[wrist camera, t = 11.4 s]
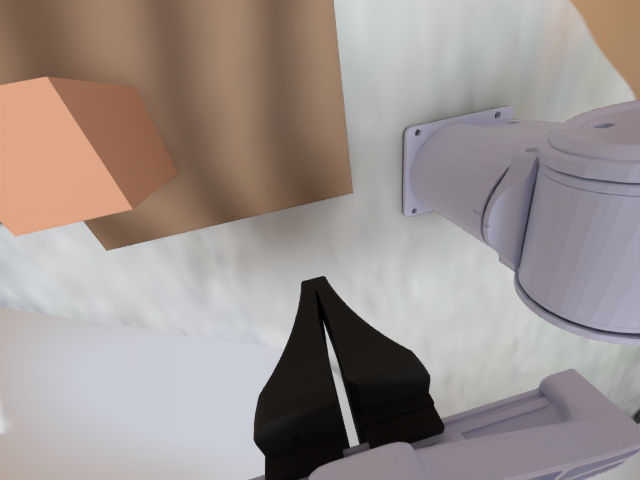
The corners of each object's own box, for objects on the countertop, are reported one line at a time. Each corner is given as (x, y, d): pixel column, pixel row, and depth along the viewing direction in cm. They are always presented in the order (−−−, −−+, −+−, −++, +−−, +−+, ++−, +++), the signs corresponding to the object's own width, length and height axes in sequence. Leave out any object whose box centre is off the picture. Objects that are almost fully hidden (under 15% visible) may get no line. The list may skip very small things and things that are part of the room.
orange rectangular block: (135, 86, 14) (46, 76, 8) (178, 173, 17) (132, 209, 11) (42, 104, 14) (-115, 106, 8) (101, 190, 16) (15, 236, 11)
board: (323, -43, 14) (327, -55, 13) (348, 188, 21) (352, 192, 20) (-54, 16, 12) (-84, 8, 11) (115, 242, 20) (106, 250, 18)
